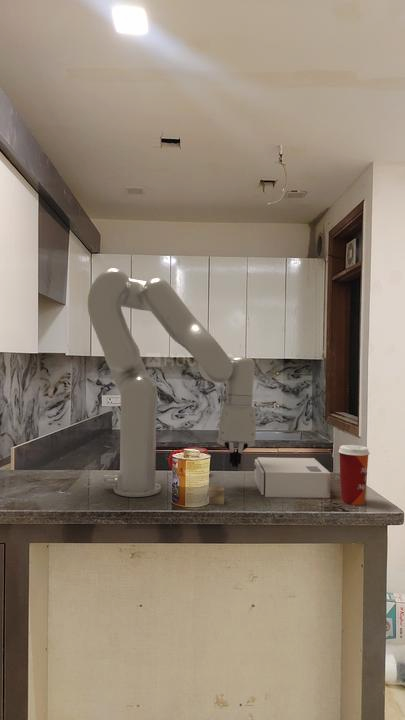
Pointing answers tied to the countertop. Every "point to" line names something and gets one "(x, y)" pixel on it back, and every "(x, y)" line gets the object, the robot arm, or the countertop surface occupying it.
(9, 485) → the countertop surface
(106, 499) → the countertop surface
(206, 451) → the mug
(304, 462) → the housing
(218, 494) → the brown wooden cube
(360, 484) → the paper cup
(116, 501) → the countertop surface
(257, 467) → the drawer
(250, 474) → the countertop surface
